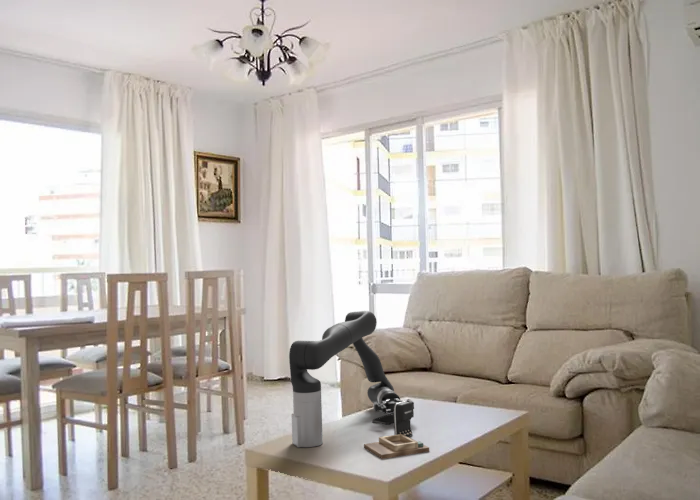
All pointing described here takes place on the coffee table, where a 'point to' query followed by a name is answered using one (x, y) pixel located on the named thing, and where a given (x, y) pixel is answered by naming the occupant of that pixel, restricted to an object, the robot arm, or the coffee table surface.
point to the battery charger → (403, 418)
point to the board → (395, 446)
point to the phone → (385, 419)
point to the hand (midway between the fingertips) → (397, 409)
